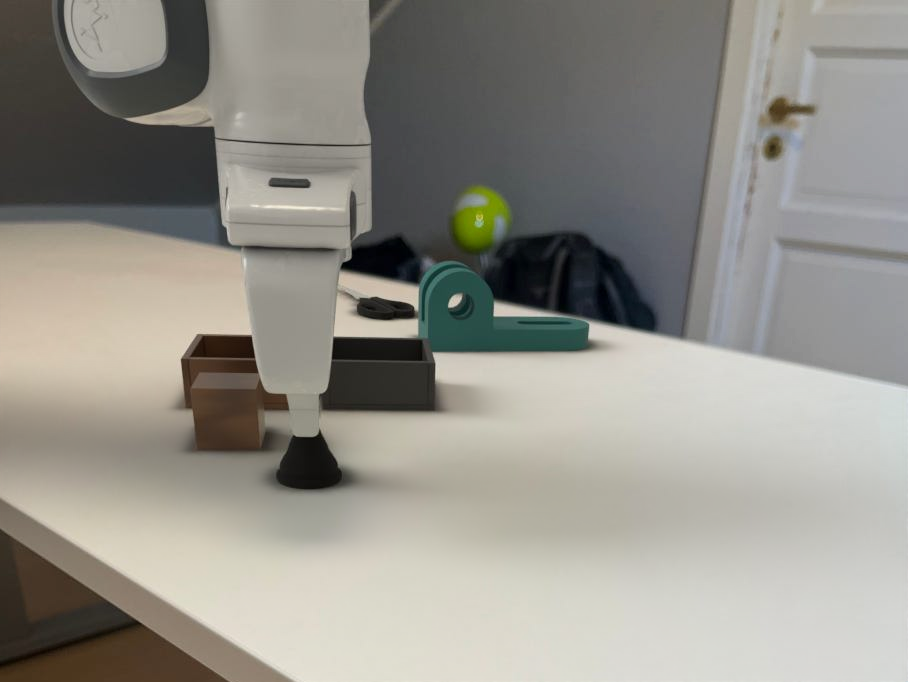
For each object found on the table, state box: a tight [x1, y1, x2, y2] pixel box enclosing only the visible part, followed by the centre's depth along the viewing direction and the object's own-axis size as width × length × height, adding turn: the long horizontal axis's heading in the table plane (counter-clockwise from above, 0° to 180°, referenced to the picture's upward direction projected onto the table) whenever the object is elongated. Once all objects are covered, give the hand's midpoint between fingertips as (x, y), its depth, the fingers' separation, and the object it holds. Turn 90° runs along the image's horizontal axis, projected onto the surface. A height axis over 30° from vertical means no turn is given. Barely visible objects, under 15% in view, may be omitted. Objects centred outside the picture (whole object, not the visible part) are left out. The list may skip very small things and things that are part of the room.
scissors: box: [338, 283, 416, 320], centre depth 120 cm, size 7×1×20 cm
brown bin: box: [180, 333, 289, 410], centre depth 82 cm, size 9×9×4 cm
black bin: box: [322, 336, 436, 412], centre depth 83 cm, size 9×9×4 cm
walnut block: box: [190, 372, 266, 451], centre depth 71 cm, size 4×4×4 cm
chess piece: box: [275, 393, 343, 490], centre depth 63 cm, size 4×4×10 cm
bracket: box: [417, 260, 590, 352], centre depth 102 cm, size 18×7×8 cm, turn 101°
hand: (306, 426), depth 64 cm, fingers closed on chess piece, 2 cm apart
